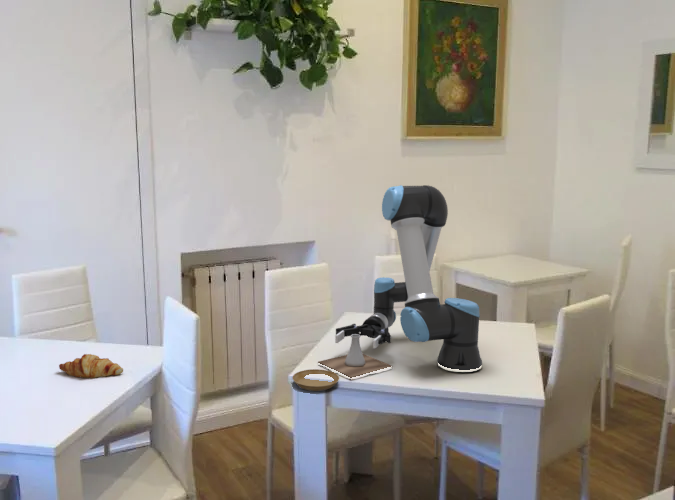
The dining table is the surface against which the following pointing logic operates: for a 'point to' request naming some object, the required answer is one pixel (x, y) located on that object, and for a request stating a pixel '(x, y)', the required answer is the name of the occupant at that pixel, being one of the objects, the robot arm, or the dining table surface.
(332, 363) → the walnut board
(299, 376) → the plant saucer
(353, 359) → the flask
